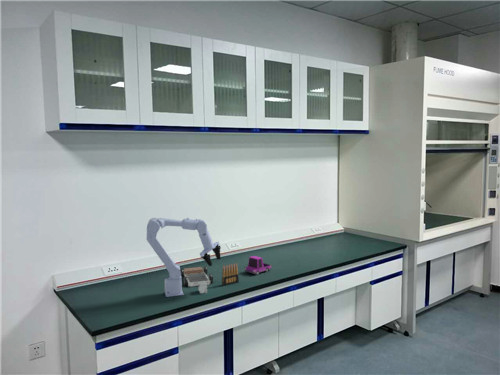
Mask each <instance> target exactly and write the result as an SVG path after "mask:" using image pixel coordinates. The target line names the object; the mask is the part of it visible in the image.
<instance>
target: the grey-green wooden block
mask: <svg viewBox="0 0 500 375" xmlns="http://www.w3.org/2000/svg"><path fill="white" fill-rule="evenodd" d="M197 287H198V292H199V294H208V285H207V283H206V282H198V286H197Z"/></svg>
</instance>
